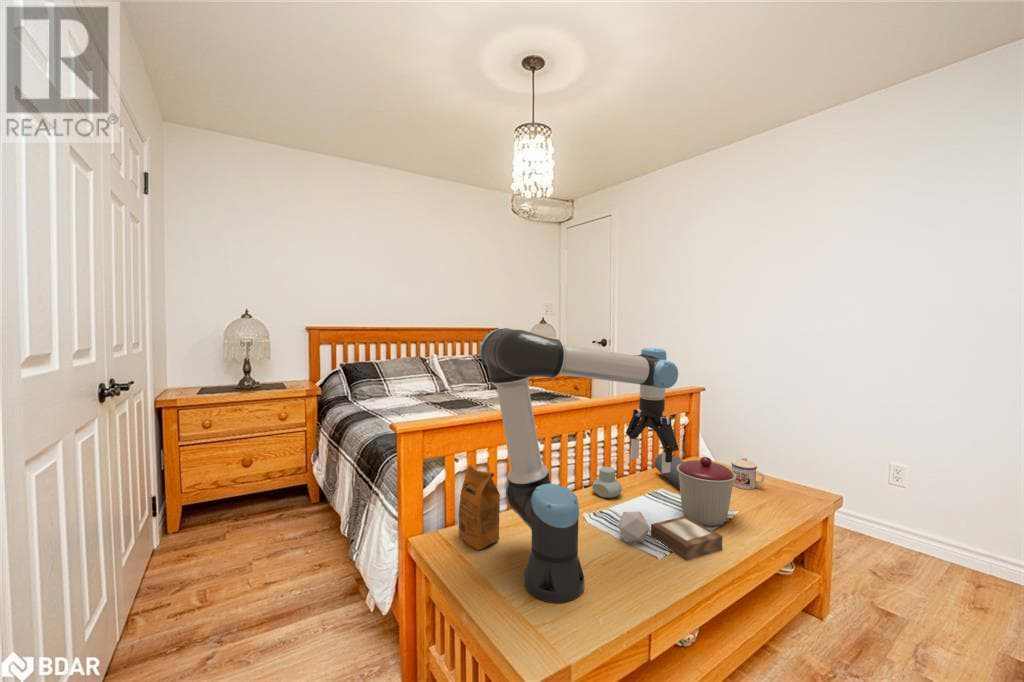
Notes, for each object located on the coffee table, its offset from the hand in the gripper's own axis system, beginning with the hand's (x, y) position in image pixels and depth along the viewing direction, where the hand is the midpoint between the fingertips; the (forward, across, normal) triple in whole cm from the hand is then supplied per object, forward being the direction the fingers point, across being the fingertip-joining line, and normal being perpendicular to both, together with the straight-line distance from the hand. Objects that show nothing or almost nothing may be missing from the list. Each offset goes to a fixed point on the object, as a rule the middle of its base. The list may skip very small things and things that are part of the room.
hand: (649, 465), depth 134 cm
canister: (+21, -2, -24) cm, 32 cm away
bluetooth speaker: (+21, +24, -39) cm, 50 cm away
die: (+22, -2, +8) cm, 23 cm away
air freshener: (+21, +28, -6) cm, 35 cm away
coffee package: (+22, +17, +50) cm, 58 cm away
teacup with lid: (+20, +11, -63) cm, 67 cm away
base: (+21, -10, -5) cm, 24 cm away
